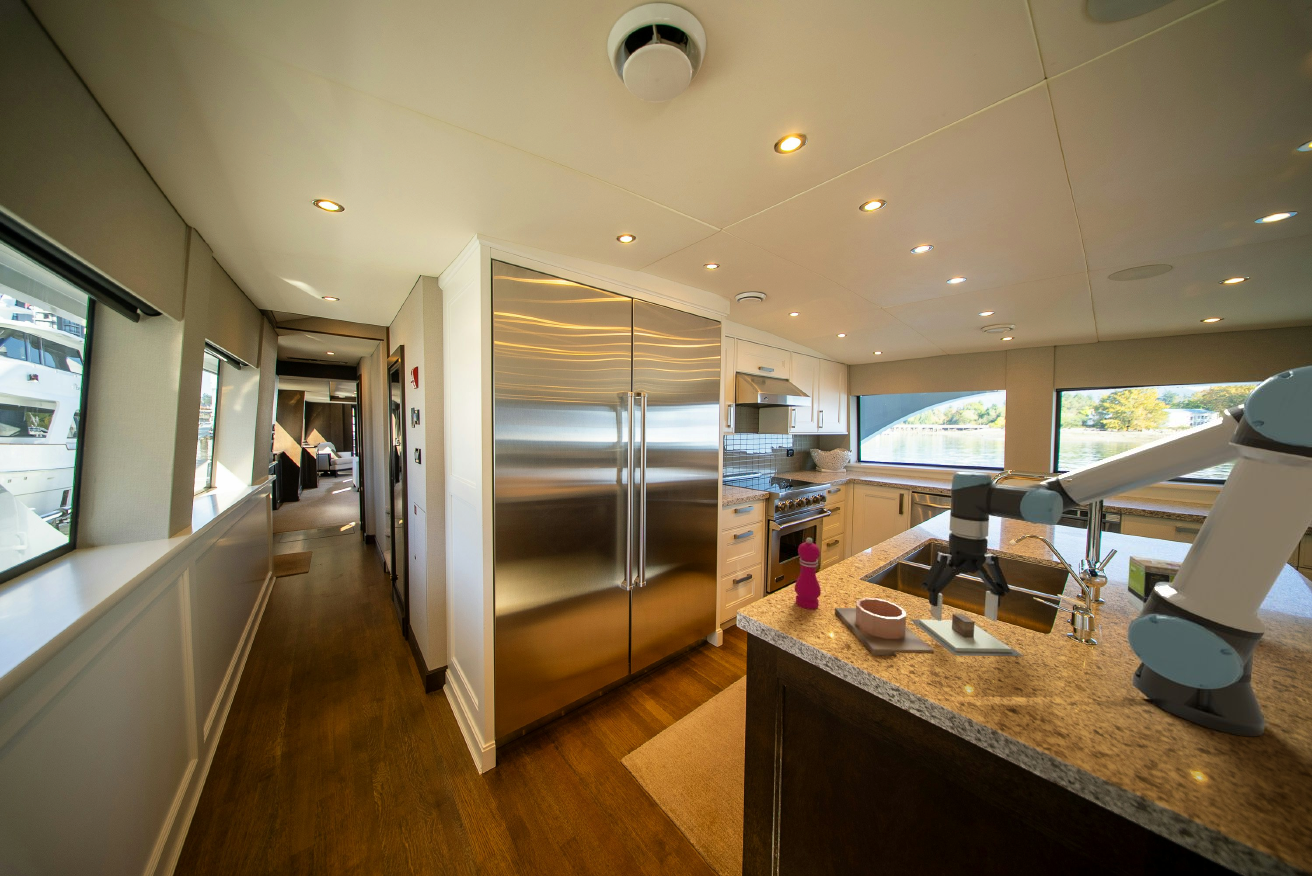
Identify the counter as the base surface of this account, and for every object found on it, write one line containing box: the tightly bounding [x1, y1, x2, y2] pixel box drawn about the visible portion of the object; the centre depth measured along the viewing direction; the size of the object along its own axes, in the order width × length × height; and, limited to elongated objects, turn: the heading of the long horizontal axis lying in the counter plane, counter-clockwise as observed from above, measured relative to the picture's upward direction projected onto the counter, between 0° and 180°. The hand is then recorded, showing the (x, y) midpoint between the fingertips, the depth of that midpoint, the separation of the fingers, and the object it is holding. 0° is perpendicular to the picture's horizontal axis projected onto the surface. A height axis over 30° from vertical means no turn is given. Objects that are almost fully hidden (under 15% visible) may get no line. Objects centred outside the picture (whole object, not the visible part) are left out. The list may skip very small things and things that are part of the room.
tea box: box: [1127, 556, 1183, 613], centre depth 113 cm, size 15×10×15 cm, turn 58°
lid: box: [918, 613, 1013, 652], centre depth 99 cm, size 13×13×5 cm
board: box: [834, 607, 935, 657], centre depth 102 cm, size 20×14×2 cm
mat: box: [909, 618, 1024, 657], centre depth 99 cm, size 16×16×1 cm
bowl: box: [855, 597, 907, 639], centre depth 102 cm, size 11×11×5 cm
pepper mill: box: [794, 537, 822, 610], centre depth 117 cm, size 7×7×20 cm
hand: (963, 618), depth 99 cm, fingers open, 13 cm apart
